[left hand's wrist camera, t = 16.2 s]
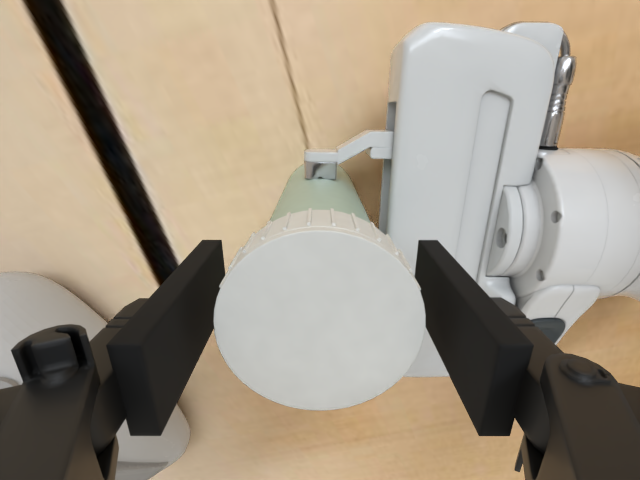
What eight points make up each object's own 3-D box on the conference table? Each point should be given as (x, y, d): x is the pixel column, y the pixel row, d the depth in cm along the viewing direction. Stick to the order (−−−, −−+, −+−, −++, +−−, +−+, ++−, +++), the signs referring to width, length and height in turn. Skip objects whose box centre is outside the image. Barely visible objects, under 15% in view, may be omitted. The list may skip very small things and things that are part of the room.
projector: (-14, 444, 36) (-219, 649, 22) (-86, 243, 28) (-477, 370, 14) (197, 457, 37) (124, 663, 23) (186, 264, 29) (62, 405, 15)
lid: (308, 393, 14) (306, 441, 12) (190, 283, 12) (164, 318, 10) (445, 305, 12) (469, 343, 10) (333, 165, 11) (336, 178, 9)
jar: (272, 183, 26) (199, 291, 11) (332, 146, 25) (352, 203, 10) (308, 239, 28) (294, 405, 12) (366, 206, 27) (432, 340, 11)
